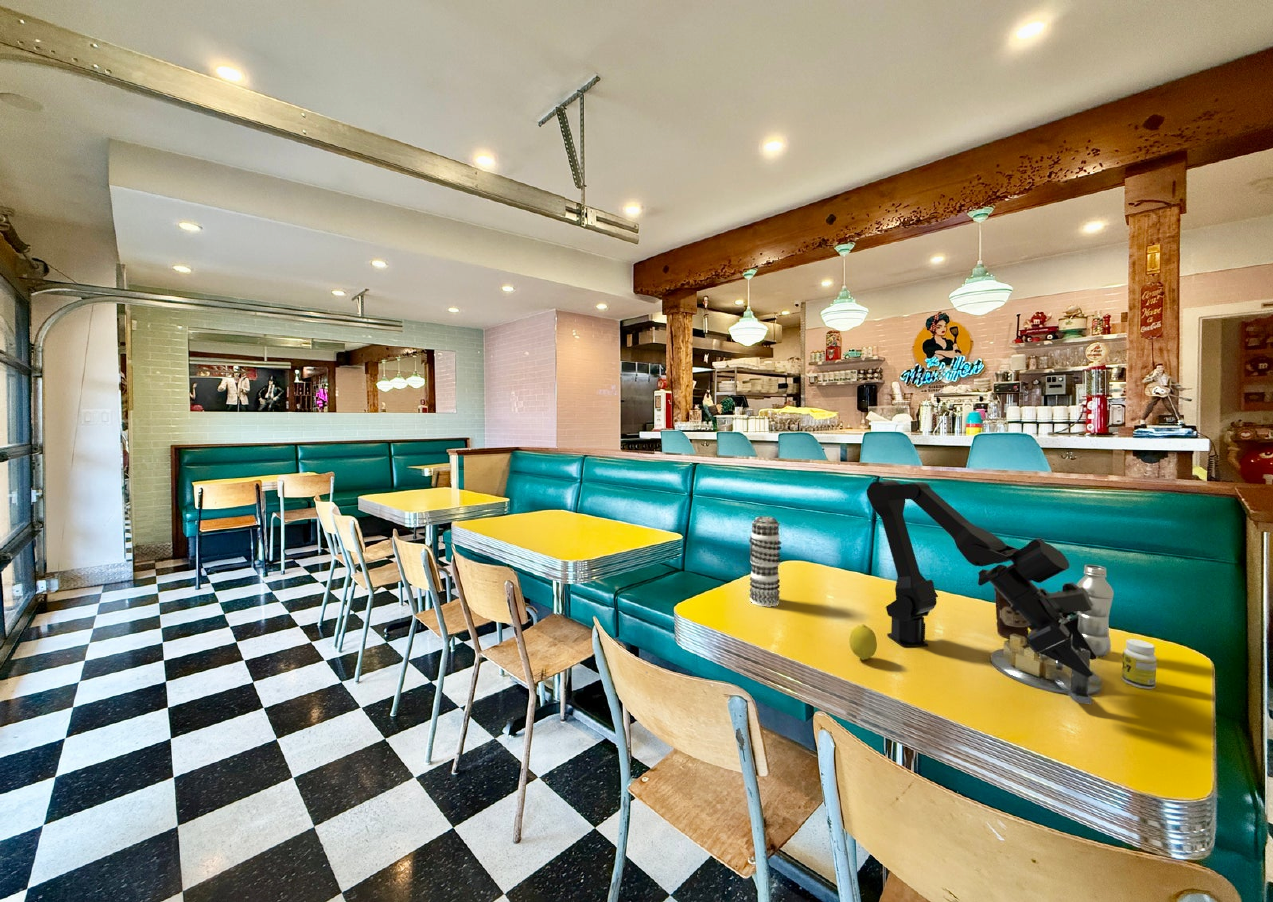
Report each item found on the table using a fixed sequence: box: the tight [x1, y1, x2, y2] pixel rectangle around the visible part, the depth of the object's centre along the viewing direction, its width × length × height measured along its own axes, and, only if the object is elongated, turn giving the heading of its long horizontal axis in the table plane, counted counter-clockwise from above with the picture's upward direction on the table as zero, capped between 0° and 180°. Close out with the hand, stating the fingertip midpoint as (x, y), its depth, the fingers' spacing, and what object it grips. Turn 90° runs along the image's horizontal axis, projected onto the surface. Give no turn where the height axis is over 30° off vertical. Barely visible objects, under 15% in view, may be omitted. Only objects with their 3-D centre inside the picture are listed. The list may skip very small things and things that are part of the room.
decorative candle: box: [748, 516, 782, 608], centre depth 145 cm, size 9×9×25 cm
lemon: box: [848, 623, 878, 661], centre depth 109 cm, size 6×6×8 cm
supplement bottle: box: [1121, 638, 1158, 690], centre depth 99 cm, size 5×5×8 cm
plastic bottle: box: [1076, 564, 1115, 657], centre depth 112 cm, size 6×7×20 cm
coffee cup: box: [993, 587, 1030, 639], centre depth 122 cm, size 9×8×13 cm
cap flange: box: [990, 648, 1103, 696], centre depth 104 cm, size 18×18×7 cm
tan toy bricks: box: [1003, 633, 1093, 705], centre depth 100 cm, size 22×13×10 cm, turn 161°
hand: (1092, 667), depth 91 cm, fingers open, 9 cm apart
